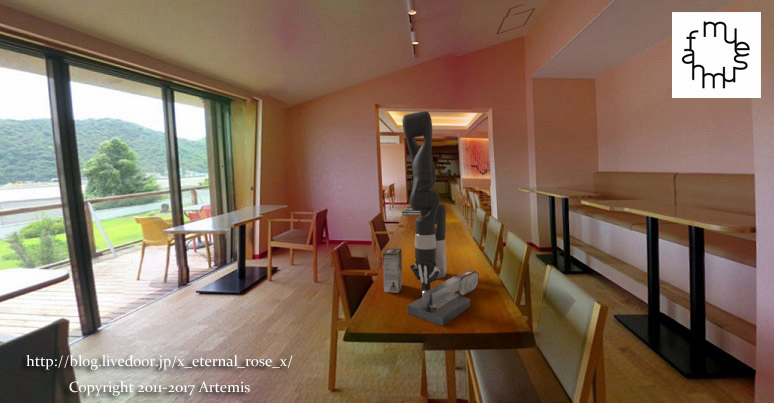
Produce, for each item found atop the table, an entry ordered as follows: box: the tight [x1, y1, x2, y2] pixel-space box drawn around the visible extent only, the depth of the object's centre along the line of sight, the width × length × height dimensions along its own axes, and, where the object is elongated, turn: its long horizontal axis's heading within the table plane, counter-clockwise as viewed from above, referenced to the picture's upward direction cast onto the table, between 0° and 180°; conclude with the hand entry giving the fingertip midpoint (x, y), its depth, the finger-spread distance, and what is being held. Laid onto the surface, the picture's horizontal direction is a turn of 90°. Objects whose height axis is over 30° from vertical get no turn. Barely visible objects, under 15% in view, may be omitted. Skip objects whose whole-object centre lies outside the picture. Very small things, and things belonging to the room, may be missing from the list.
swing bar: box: [429, 275, 461, 306], centre depth 115 cm, size 19×3×4 cm, turn 139°
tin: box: [454, 269, 480, 297], centre depth 128 cm, size 15×3×8 cm, turn 133°
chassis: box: [407, 290, 471, 327], centre depth 112 cm, size 18×14×9 cm
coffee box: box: [382, 247, 403, 294], centre depth 134 cm, size 9×6×16 cm
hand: (426, 292), depth 118 cm, fingers closed
